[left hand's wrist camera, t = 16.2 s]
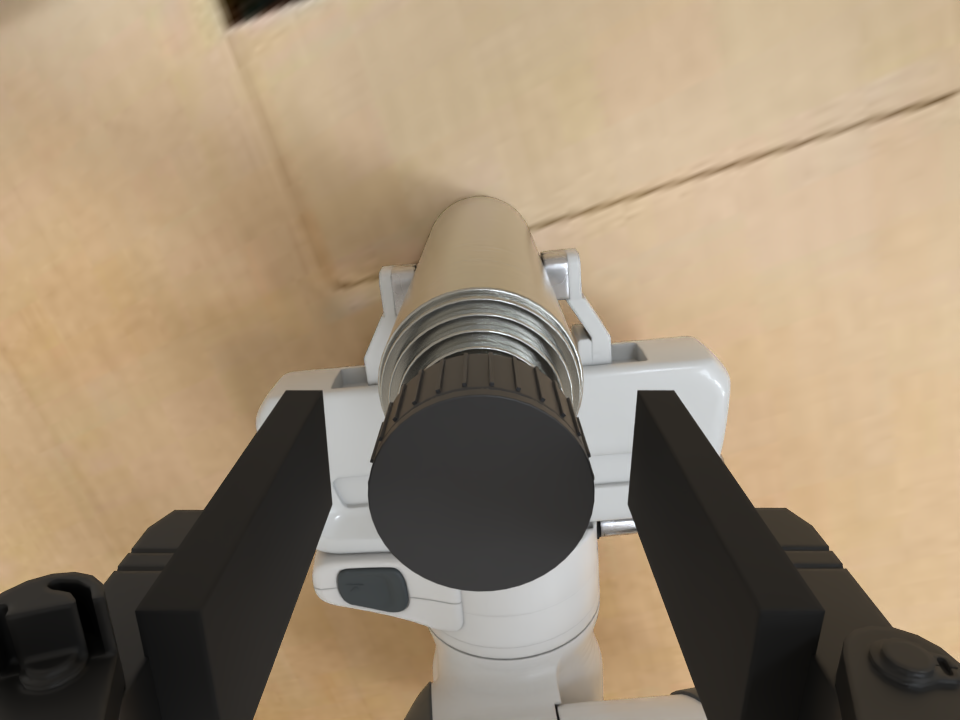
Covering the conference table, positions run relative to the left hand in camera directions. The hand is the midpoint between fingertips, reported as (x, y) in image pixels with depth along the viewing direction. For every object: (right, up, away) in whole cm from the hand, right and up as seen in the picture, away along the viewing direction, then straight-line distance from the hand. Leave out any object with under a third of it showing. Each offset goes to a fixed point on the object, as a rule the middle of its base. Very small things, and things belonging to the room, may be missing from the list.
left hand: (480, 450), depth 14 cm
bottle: (0, +8, +20) cm, 22 cm away
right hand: (0, +6, +14) cm, 15 cm away
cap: (0, -1, -2) cm, 2 cm away
